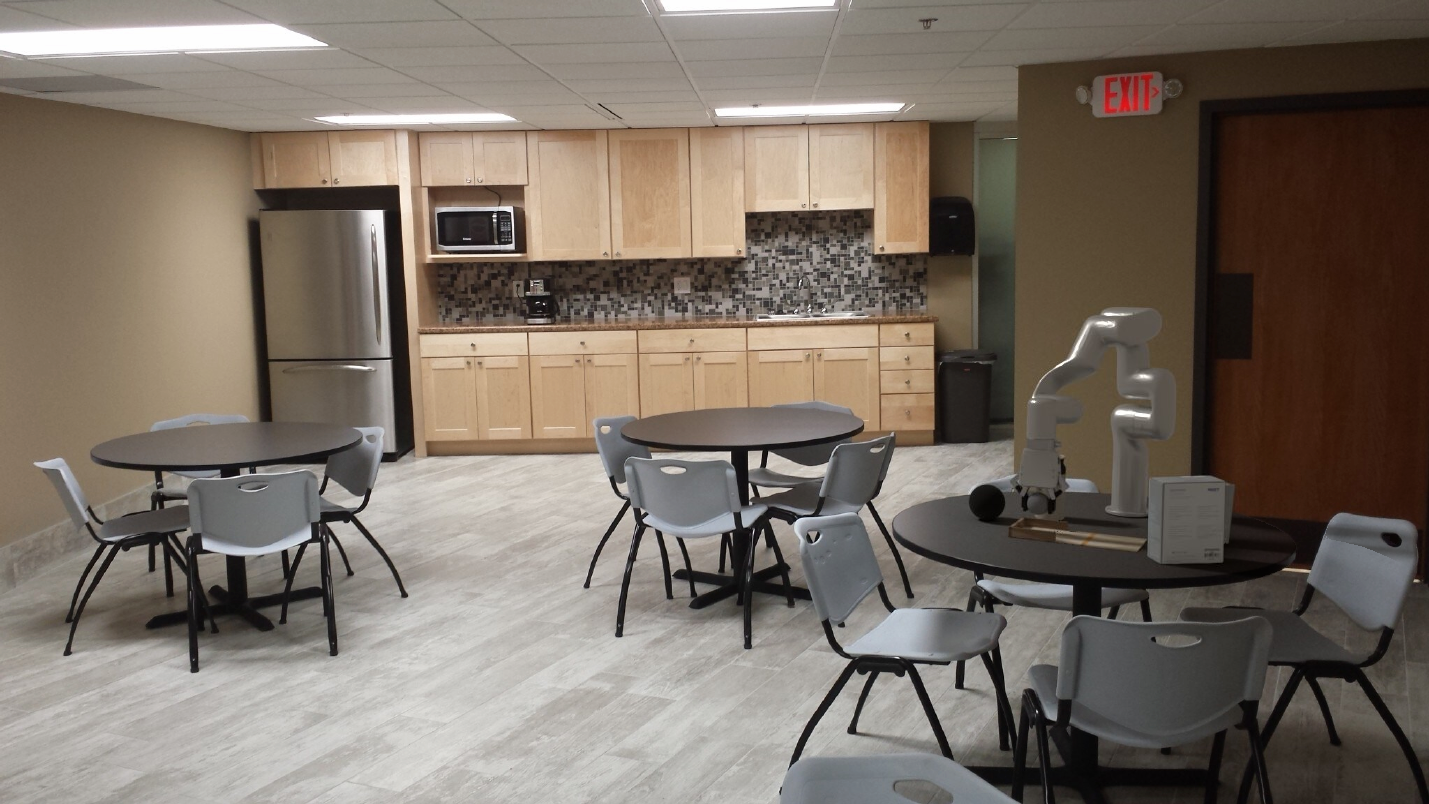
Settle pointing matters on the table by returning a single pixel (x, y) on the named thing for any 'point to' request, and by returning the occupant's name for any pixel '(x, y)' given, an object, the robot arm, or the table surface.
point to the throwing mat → (1070, 535)
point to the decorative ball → (987, 502)
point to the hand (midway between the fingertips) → (1038, 511)
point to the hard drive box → (1186, 519)
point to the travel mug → (1060, 500)
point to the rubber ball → (1038, 503)
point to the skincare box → (1228, 510)
